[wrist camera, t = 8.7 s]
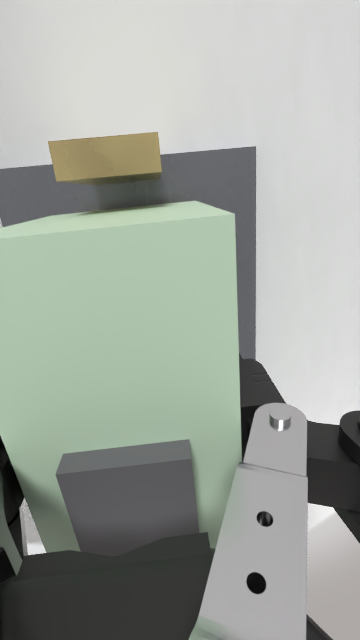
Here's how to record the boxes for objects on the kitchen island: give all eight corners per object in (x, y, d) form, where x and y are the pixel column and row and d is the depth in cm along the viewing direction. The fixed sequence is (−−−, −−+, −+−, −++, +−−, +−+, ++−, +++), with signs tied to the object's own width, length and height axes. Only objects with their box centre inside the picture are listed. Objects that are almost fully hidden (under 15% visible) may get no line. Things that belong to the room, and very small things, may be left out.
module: (51, 215, 12) (-100, 252, 5) (195, 200, 12) (242, 216, 5) (108, 456, 17) (70, 650, 10) (213, 444, 17) (250, 627, 10)
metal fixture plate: (-3, 171, 15) (-122, 156, 9) (249, 149, 15) (318, 118, 9) (70, 439, 21) (32, 549, 15) (250, 417, 21) (292, 515, 15)
